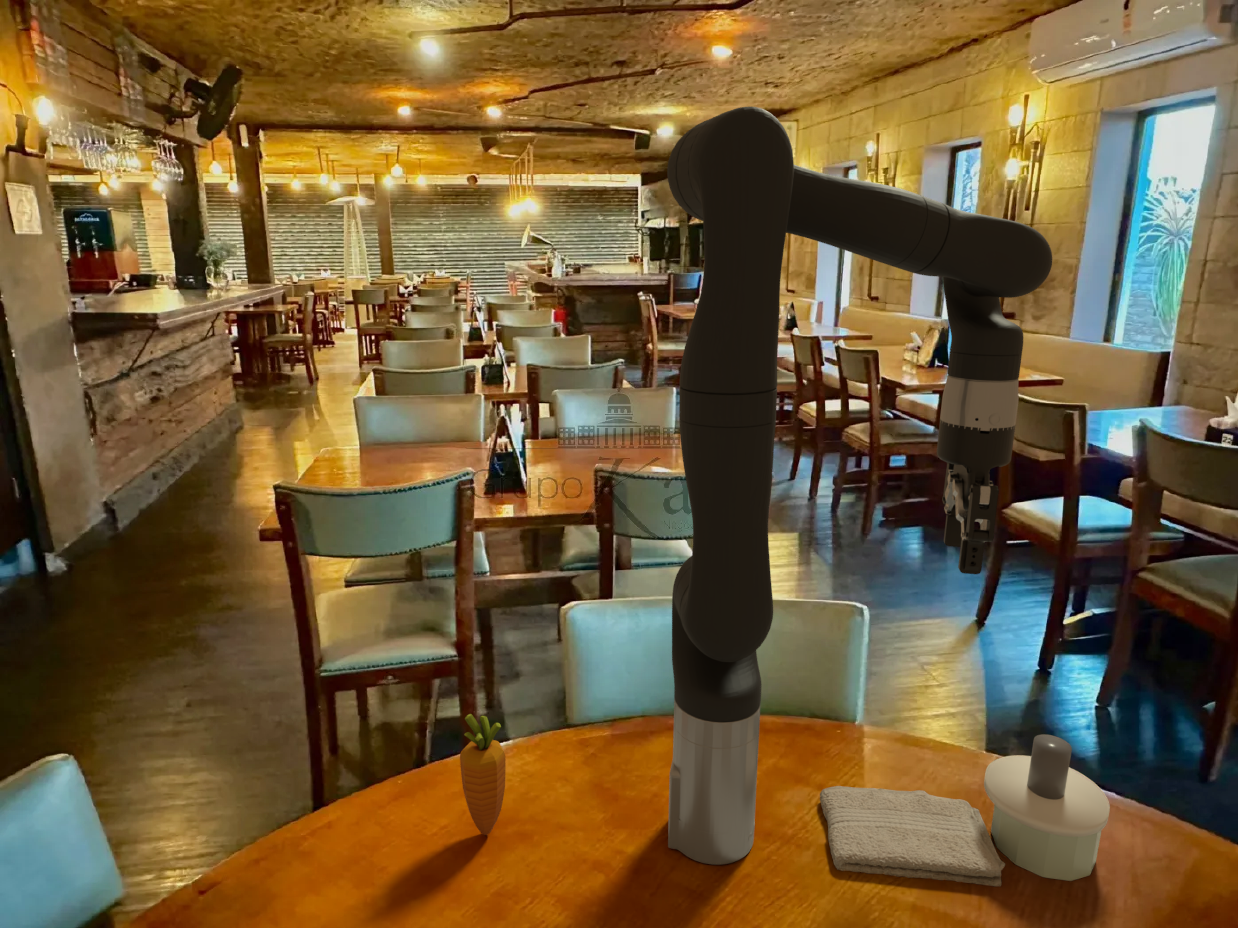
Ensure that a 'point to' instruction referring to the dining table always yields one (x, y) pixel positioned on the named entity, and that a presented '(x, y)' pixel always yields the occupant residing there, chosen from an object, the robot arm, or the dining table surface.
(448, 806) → the dining table surface
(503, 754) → the carrot
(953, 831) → the washcloth
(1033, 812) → the lid
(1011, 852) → the cup
